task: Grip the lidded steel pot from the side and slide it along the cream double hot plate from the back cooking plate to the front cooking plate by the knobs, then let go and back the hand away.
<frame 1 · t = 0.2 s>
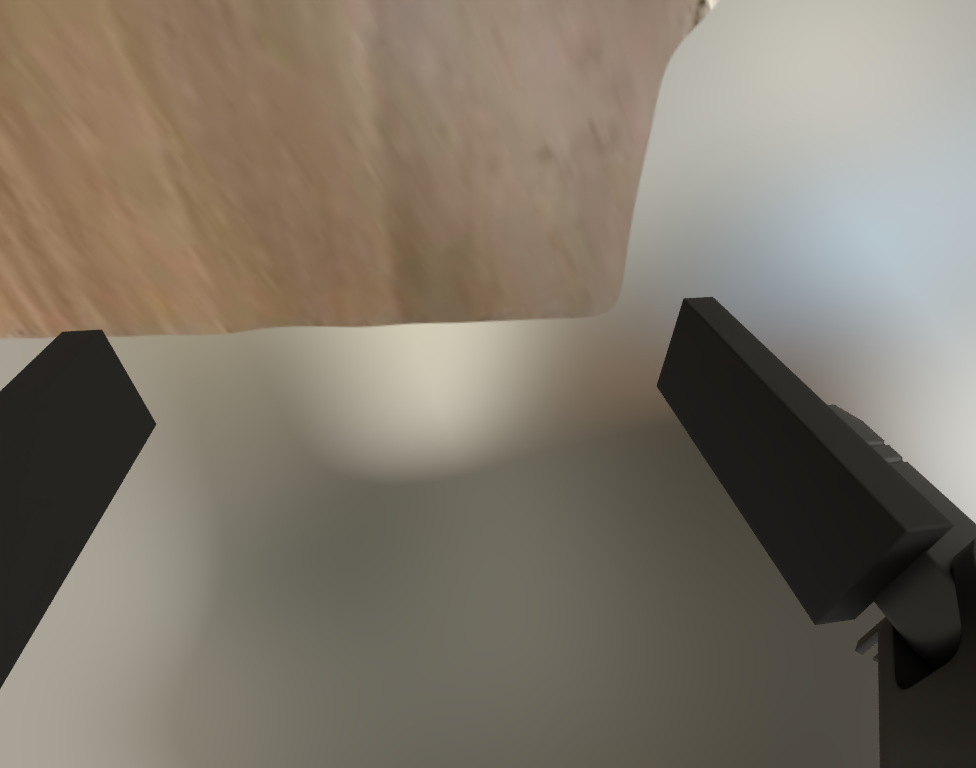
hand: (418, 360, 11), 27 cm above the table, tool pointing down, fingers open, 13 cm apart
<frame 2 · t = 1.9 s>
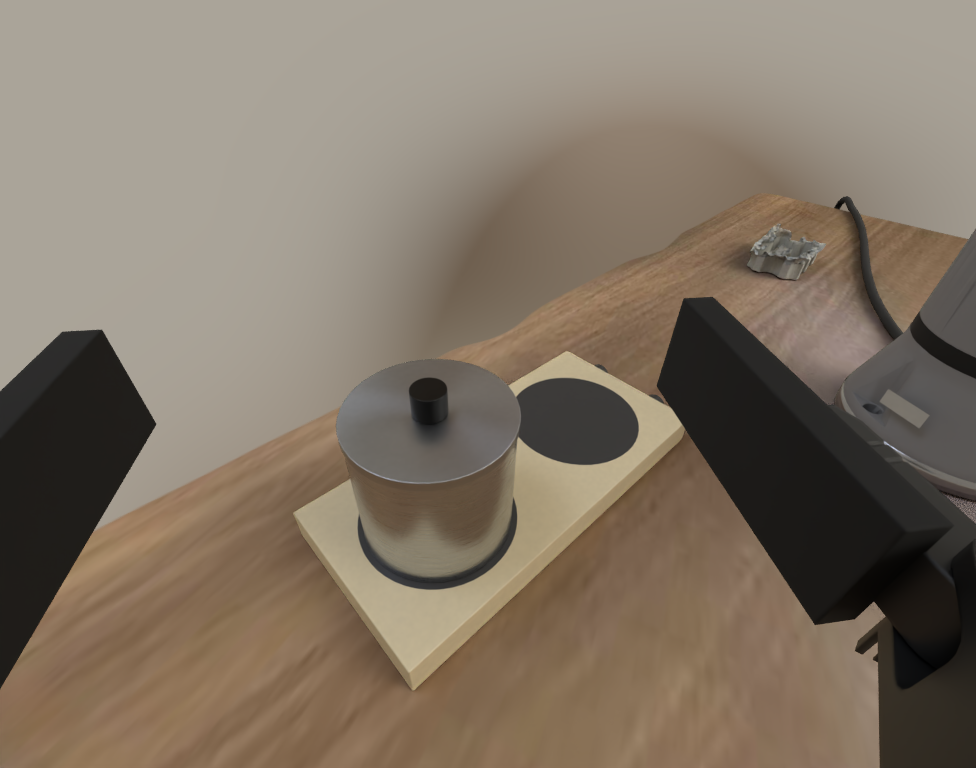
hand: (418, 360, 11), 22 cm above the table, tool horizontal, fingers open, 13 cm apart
hot plate: (511, 482, 36), on the table
egg carton: (780, 266, 68), on the table
pot: (438, 513, 31), point 3 cm above the table, touching hot plate
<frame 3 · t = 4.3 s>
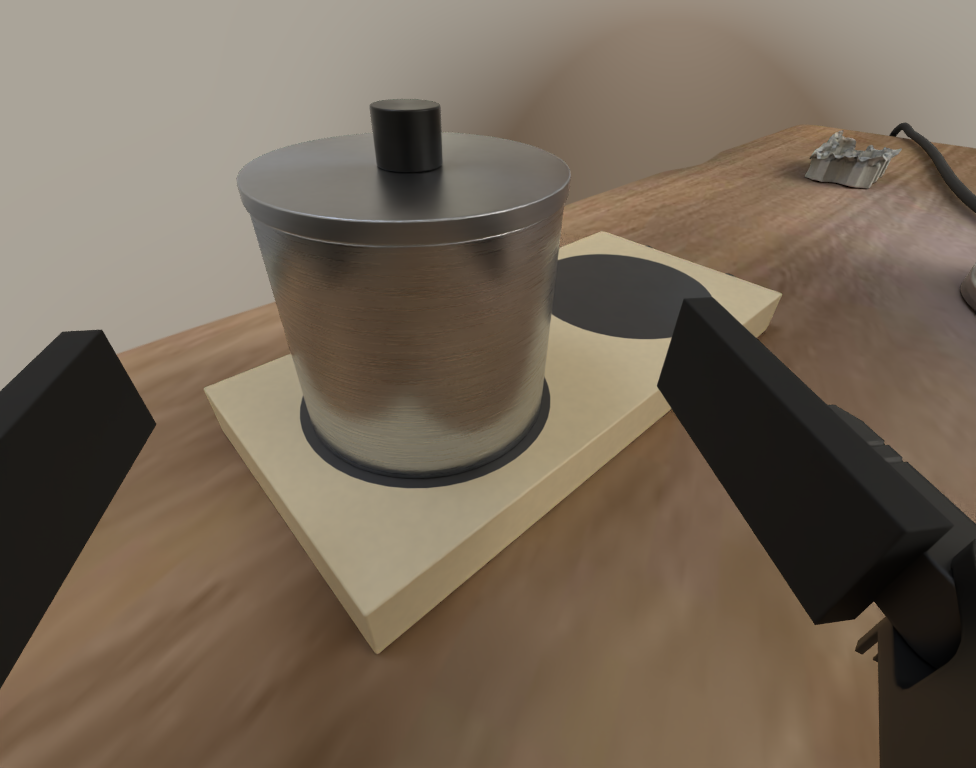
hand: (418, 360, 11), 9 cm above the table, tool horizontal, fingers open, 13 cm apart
hot plate: (535, 372, 25), on the table
egg carton: (844, 178, 57), on the table
pot: (428, 391, 20), point 3 cm above the table, touching hot plate
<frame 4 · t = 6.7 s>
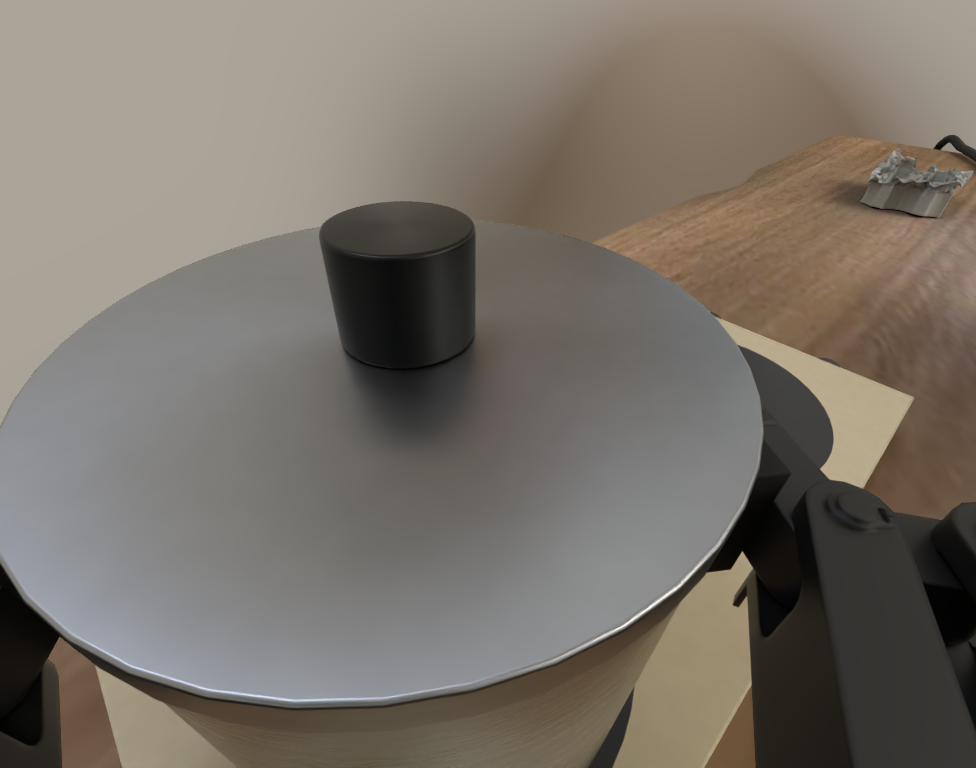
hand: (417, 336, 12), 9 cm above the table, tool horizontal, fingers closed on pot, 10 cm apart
hot plate: (585, 522, 18), on the table
egg carton: (904, 203, 50), on the table
pot: (437, 615, 13), point 3 cm above the table, touching gripper, hot plate
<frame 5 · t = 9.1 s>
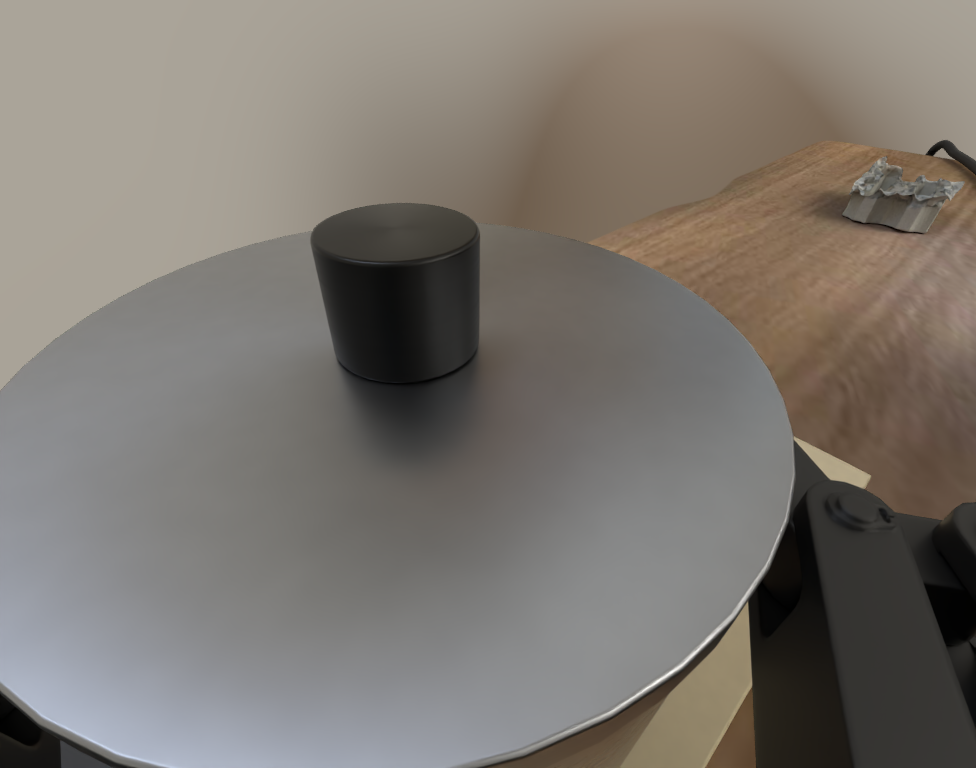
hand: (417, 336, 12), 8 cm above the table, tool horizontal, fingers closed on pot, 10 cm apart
hot plate: (452, 643, 14), on the table
egg carton: (890, 217, 46), on the table
pot: (438, 633, 12), point 3 cm above the table, touching gripper
when the fingers open (8 cm above the table, at t = 11.8 s): pot stays where it is, resting on hot plate.
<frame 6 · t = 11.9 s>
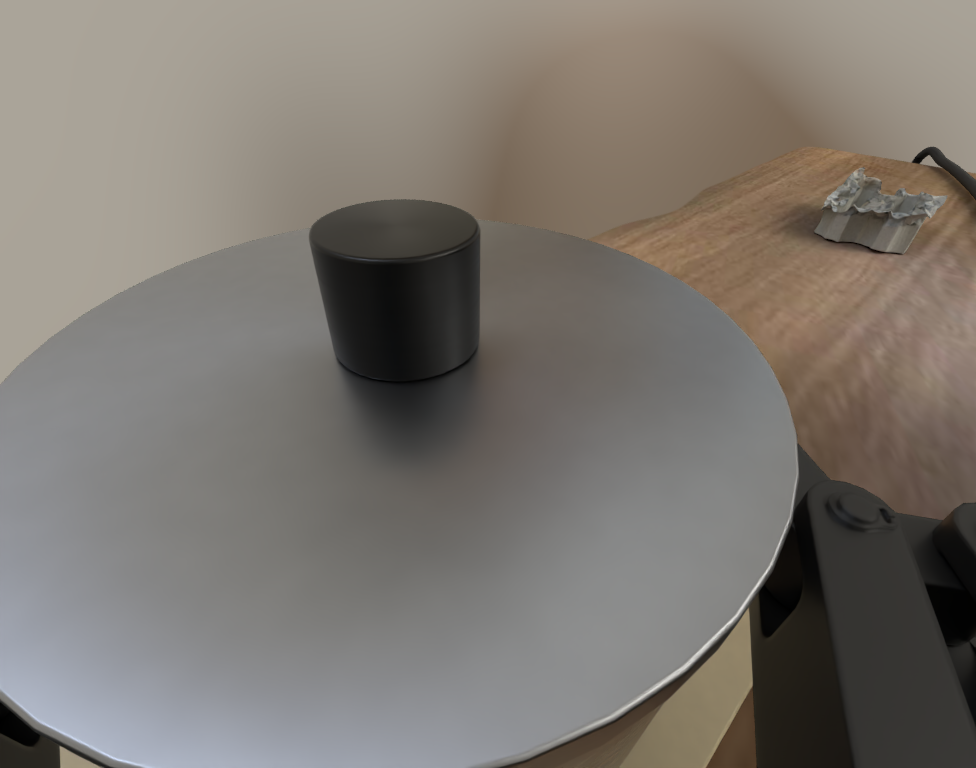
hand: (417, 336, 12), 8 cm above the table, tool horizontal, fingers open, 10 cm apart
egg carton: (867, 234, 42), on the table
pot: (438, 632, 12), point 3 cm above the table, touching hot plate
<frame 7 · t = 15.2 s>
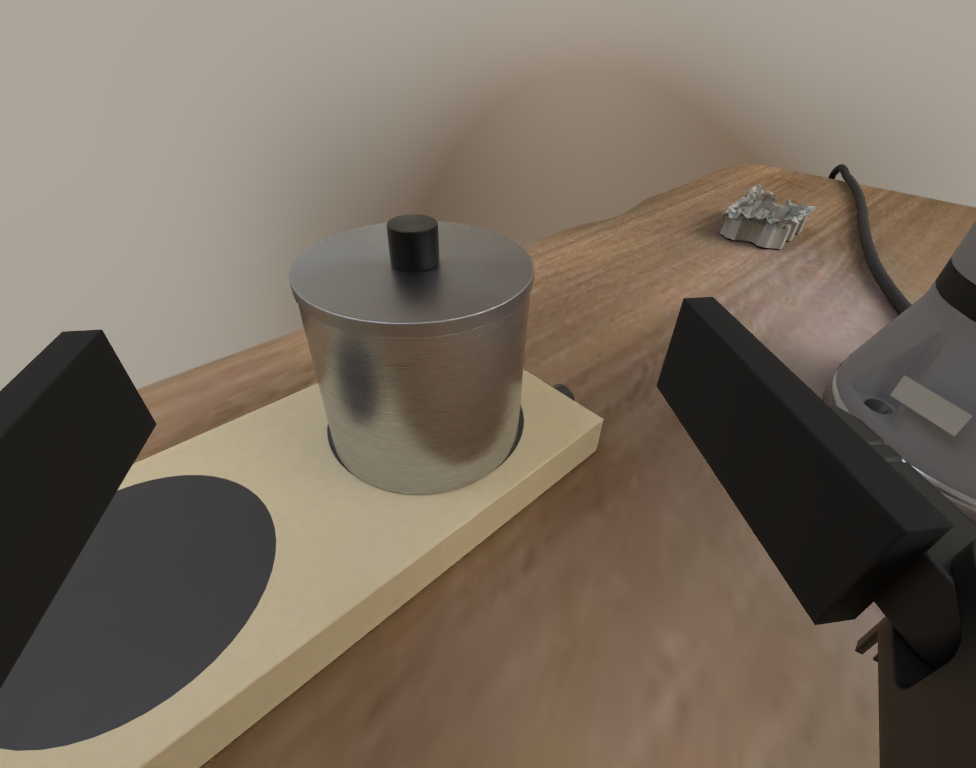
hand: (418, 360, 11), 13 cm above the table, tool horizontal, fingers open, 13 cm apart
hot plate: (315, 517, 23), on the table
egg carton: (760, 234, 55), on the table
pot: (427, 422, 25), point 3 cm above the table, touching hot plate
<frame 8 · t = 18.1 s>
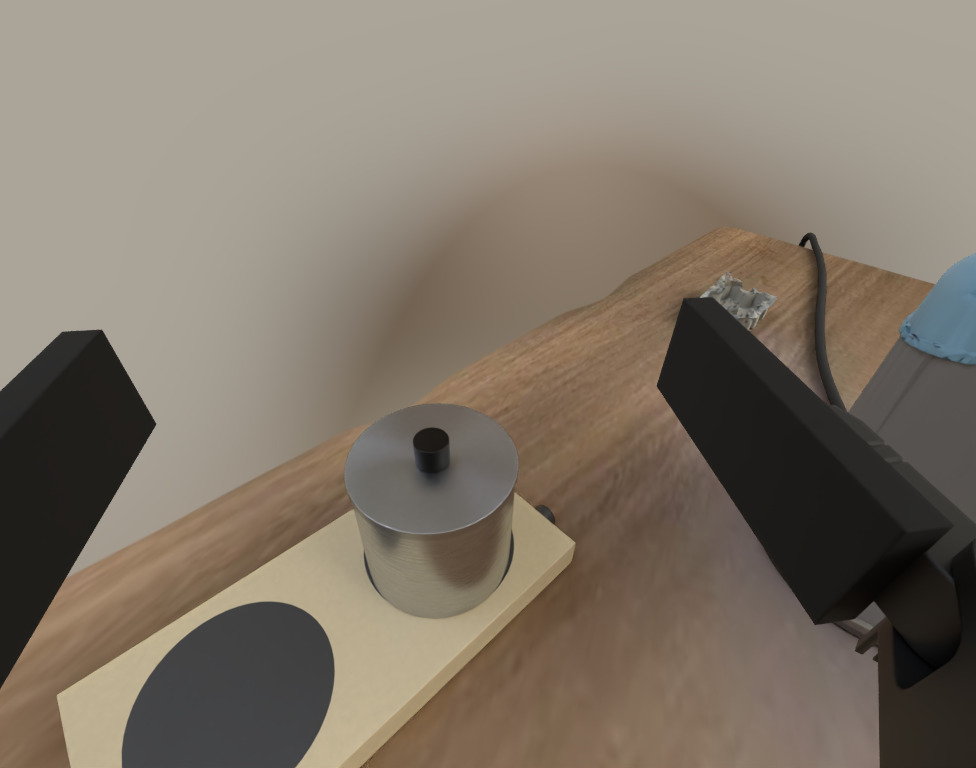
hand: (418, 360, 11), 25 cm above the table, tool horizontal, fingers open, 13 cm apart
hot plate: (356, 627, 31), on the table
egg carton: (728, 320, 63), on the table
pot: (439, 548, 33), point 3 cm above the table, touching hot plate
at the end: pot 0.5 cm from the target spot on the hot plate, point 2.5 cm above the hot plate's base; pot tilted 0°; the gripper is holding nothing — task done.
